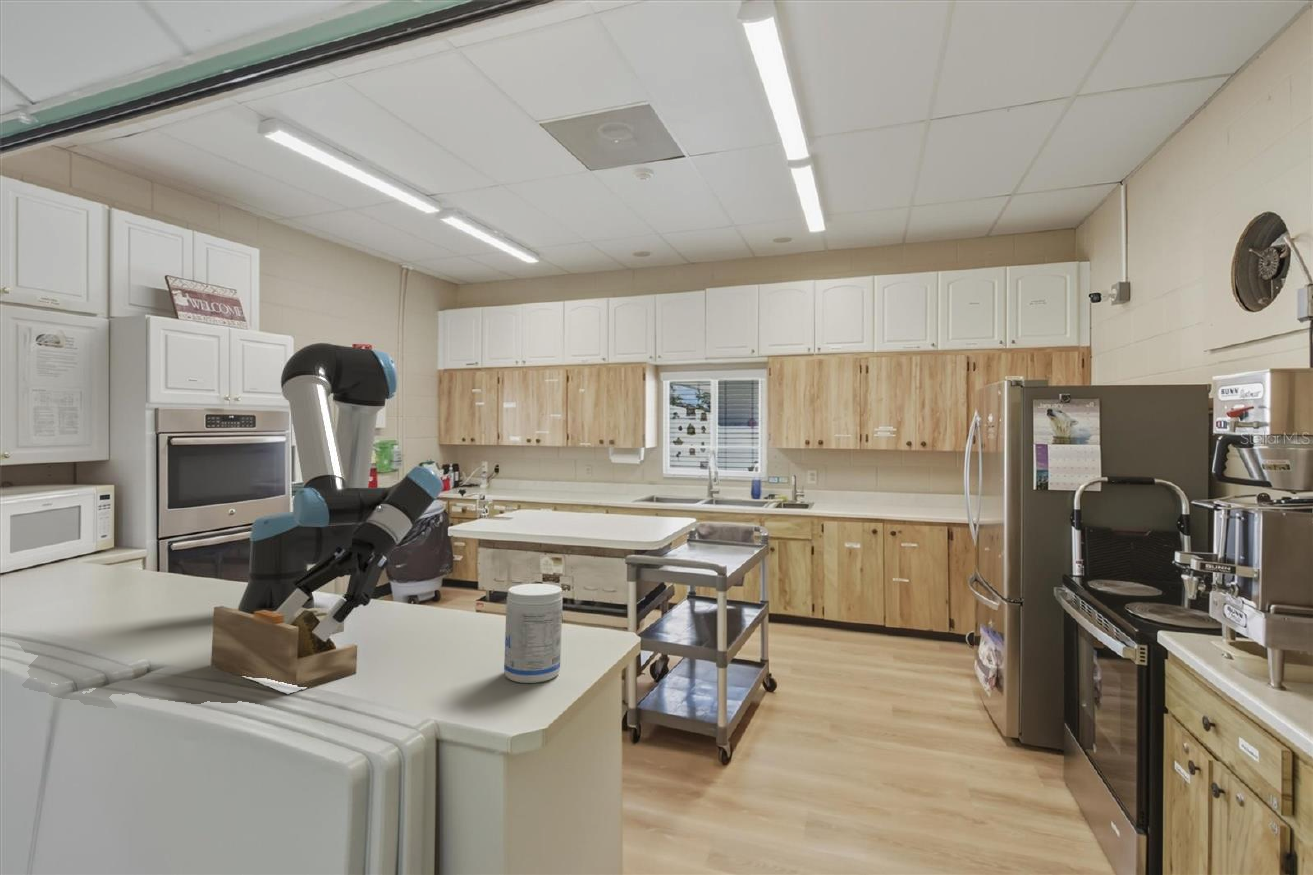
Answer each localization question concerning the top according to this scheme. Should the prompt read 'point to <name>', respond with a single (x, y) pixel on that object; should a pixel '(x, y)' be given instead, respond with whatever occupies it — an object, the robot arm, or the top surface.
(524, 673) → the supplement tub
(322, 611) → the grey cinder block
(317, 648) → the rock
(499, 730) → the top surface
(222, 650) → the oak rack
